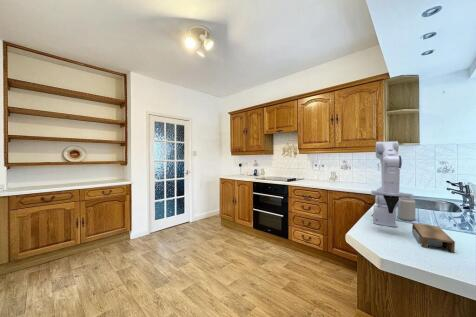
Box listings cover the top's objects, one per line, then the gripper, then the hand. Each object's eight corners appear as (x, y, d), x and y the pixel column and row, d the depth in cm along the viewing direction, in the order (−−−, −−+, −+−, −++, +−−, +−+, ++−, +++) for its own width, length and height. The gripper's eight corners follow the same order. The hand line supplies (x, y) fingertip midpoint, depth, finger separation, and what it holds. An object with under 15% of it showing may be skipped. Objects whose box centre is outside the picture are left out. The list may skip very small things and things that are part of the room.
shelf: (422, 247, 78) (422, 236, 78) (412, 231, 93) (412, 222, 93) (454, 253, 73) (454, 241, 73) (438, 236, 88) (438, 226, 88)
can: (416, 222, 106) (417, 199, 106) (398, 219, 110) (399, 197, 110) (413, 218, 112) (414, 197, 112) (396, 216, 116) (397, 195, 116)
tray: (418, 243, 81) (418, 236, 81) (412, 234, 90) (413, 228, 90) (442, 247, 78) (442, 240, 78) (434, 238, 86) (434, 232, 86)
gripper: (372, 182, 91) (371, 212, 91) (414, 185, 83) (413, 217, 83) (371, 180, 97) (370, 208, 97) (411, 183, 89) (410, 213, 90)
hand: (390, 212), depth 91 cm, fingers closed
